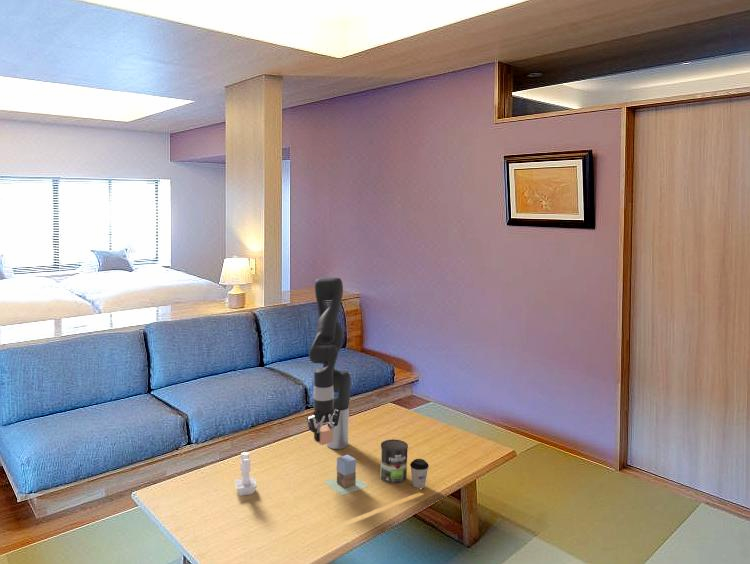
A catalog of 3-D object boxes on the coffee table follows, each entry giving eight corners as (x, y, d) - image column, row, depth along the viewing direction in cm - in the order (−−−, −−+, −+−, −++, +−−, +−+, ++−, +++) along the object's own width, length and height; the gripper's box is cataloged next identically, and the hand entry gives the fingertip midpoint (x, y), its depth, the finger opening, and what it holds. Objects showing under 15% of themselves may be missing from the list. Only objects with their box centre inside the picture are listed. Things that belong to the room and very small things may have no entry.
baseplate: (323, 484, 215) (323, 482, 215) (349, 475, 223) (349, 473, 223) (342, 498, 206) (342, 495, 206) (368, 488, 213) (368, 485, 213)
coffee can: (410, 484, 217) (411, 449, 215) (384, 487, 215) (385, 451, 212) (402, 471, 227) (403, 438, 225) (376, 474, 224) (377, 440, 222)
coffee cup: (405, 485, 216) (406, 460, 215) (418, 480, 220) (419, 455, 219) (418, 493, 211) (419, 467, 209) (431, 487, 215) (432, 462, 214)
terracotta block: (314, 440, 218) (314, 428, 217) (325, 437, 221) (325, 424, 220) (321, 445, 214) (321, 432, 213) (332, 441, 217) (332, 429, 216)
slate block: (336, 470, 214) (336, 457, 213) (347, 467, 217) (347, 454, 216) (344, 475, 210) (344, 462, 209) (355, 472, 213) (355, 459, 213)
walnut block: (336, 483, 215) (337, 470, 214) (347, 479, 218) (347, 467, 217) (344, 488, 211) (344, 475, 210) (355, 484, 214) (355, 472, 213)
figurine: (253, 484, 215) (253, 446, 212) (257, 496, 206) (257, 457, 204) (233, 487, 212) (233, 449, 210) (237, 500, 203) (236, 460, 201)
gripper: (312, 403, 208) (313, 447, 210) (345, 395, 216) (344, 437, 219) (301, 397, 213) (302, 440, 216) (333, 389, 222) (333, 431, 225)
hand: (323, 439), depth 218 cm, fingers closed on terracotta block, 5 cm apart
